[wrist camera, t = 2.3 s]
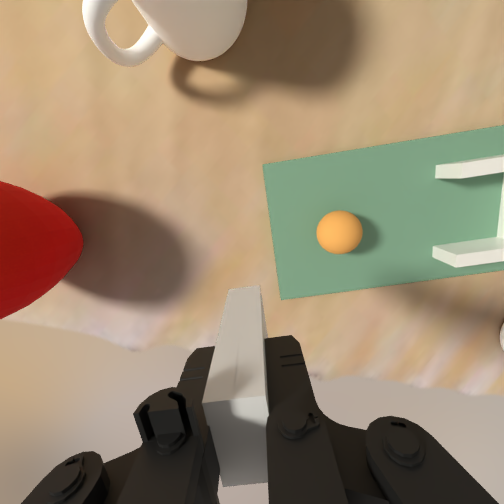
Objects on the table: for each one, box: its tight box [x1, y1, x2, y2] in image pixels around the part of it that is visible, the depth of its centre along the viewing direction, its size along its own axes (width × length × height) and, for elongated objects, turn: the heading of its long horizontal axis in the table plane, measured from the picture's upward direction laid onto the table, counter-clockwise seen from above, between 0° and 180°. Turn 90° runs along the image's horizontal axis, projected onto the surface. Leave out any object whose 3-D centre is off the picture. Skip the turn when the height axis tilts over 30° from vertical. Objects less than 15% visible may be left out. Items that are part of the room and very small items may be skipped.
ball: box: [316, 210, 363, 254], centre depth 24 cm, size 4×4×4 cm
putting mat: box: [263, 125, 504, 300], centre depth 26 cm, size 14×24×1 cm, turn 99°
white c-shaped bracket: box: [432, 154, 504, 268], centre depth 23 cm, size 9×7×3 cm
